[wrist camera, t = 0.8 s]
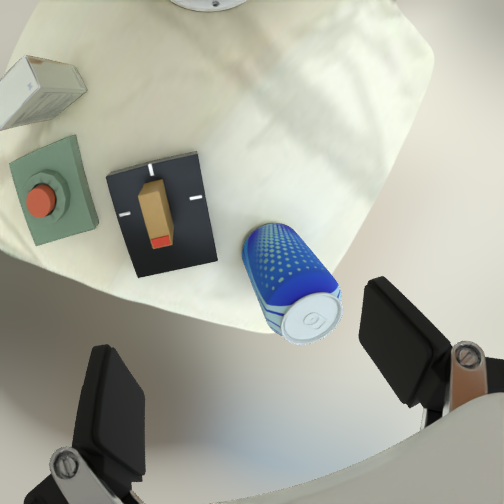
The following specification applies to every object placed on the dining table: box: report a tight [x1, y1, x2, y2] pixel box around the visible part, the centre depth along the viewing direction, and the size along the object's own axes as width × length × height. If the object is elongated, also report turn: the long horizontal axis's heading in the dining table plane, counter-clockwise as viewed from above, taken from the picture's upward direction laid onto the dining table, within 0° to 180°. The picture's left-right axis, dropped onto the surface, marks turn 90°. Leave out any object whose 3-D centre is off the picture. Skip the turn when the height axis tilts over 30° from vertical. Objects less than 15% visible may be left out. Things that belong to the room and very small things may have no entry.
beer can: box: [242, 223, 343, 345], centre depth 34 cm, size 8×8×16 cm
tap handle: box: [138, 179, 174, 249], centre depth 30 cm, size 6×2×5 cm, turn 7°
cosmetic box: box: [0, 55, 87, 131], centre depth 19 cm, size 6×4×12 cm
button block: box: [9, 135, 99, 246], centre depth 28 cm, size 12×10×4 cm
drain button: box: [26, 185, 56, 218], centre depth 26 cm, size 4×4×2 cm
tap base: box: [106, 151, 218, 278], centre depth 34 cm, size 14×11×3 cm
